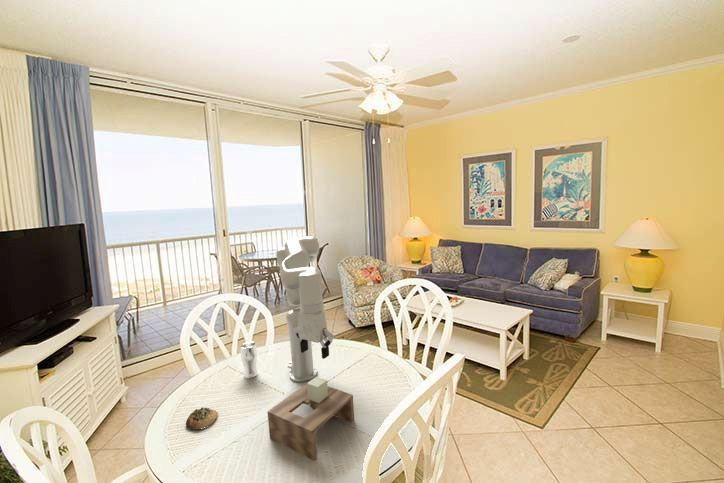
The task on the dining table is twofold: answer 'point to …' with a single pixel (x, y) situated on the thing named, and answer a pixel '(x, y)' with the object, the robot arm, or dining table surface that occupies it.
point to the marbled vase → (249, 359)
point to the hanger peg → (317, 389)
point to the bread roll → (201, 418)
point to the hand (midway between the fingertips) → (314, 354)
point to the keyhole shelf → (307, 419)
